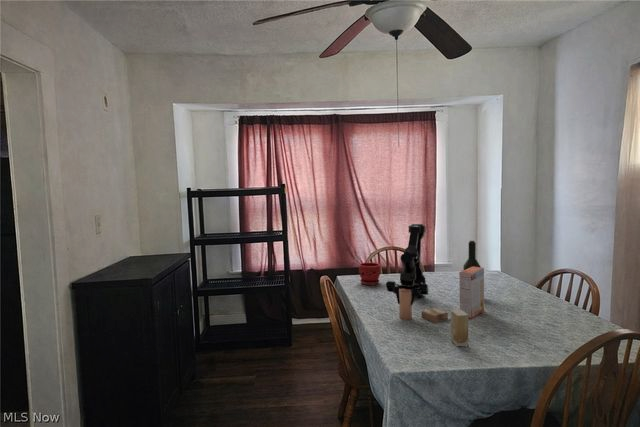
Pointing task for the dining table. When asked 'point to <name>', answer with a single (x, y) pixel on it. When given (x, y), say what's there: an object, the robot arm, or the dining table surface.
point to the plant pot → (369, 273)
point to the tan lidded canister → (405, 304)
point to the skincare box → (459, 327)
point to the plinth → (434, 315)
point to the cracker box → (472, 291)
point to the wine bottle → (471, 256)
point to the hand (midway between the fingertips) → (404, 304)
